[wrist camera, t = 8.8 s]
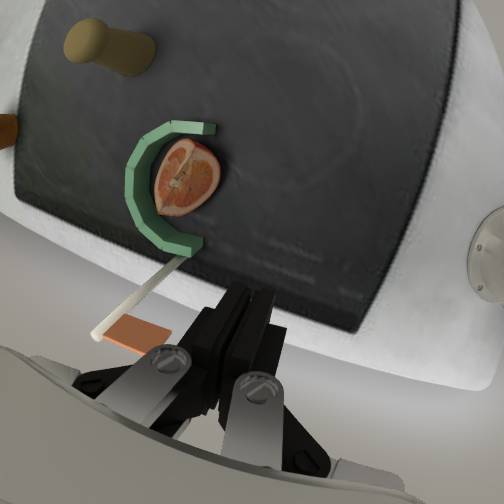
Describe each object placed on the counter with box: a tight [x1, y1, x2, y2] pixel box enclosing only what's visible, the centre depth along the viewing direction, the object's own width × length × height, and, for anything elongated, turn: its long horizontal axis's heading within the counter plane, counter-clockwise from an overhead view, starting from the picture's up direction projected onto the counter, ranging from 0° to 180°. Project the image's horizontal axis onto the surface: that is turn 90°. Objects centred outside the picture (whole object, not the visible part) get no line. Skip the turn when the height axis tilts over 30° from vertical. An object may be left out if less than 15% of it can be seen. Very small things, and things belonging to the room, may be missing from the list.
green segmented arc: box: [90, 120, 216, 355], centre depth 24 cm, size 12×16×18 cm
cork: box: [64, 18, 156, 77], centre depth 22 cm, size 6×6×11 cm
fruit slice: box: [154, 139, 220, 216], centre depth 29 cm, size 8×7×5 cm
